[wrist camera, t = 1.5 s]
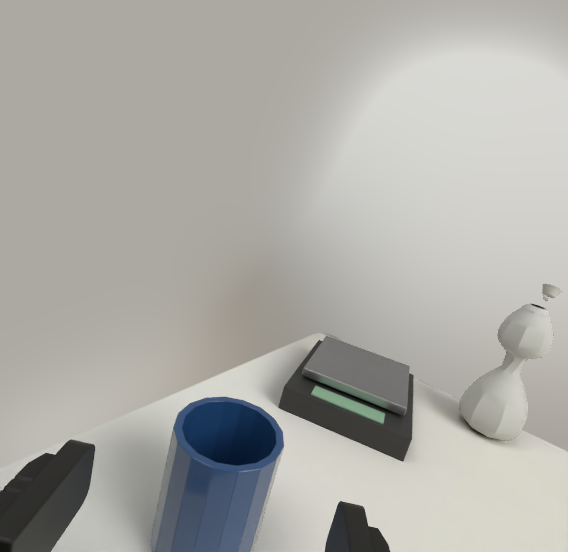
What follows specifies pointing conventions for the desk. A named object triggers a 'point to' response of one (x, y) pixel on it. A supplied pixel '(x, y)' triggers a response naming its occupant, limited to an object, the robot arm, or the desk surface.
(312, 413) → the scale
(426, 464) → the desk surface
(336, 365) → the scale pan
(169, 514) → the cup
